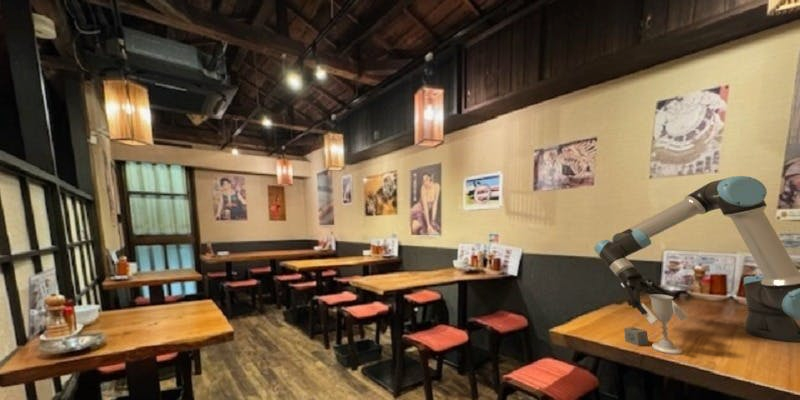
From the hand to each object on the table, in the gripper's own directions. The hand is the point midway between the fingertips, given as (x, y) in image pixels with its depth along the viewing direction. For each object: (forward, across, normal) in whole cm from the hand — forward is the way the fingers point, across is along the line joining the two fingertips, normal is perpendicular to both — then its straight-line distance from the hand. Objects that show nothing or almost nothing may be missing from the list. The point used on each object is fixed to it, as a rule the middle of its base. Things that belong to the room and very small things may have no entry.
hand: (669, 320), depth 106 cm
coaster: (+6, 0, -10) cm, 11 cm away
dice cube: (+1, +4, -16) cm, 16 cm away
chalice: (+6, 0, -9) cm, 11 cm away
